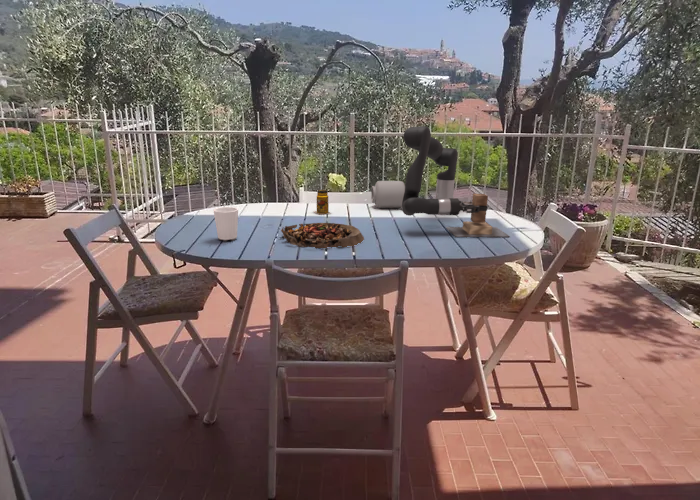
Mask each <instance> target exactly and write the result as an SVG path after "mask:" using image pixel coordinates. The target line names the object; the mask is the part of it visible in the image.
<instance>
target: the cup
mask: <svg viewBox="0 0 700 500" xmlns="http://www.w3.org/2000/svg"><path fill="white" fill-rule="evenodd" d="M213 217H214V220H215V226H216V233H217V239H218V241H223V242H228V241H232V242H234V241H235V240H237V238H238V225H239V224H238V221H239V208H237V207H233V206H221V207H217V208H214V209H213Z"/></svg>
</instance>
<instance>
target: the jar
mask: <svg viewBox="0 0 700 500" xmlns="http://www.w3.org/2000/svg"><path fill="white" fill-rule="evenodd" d="M369 190H370V189H368V190H367V189H366V191H367V192H368V191H369ZM366 191H364V192H365V193H366ZM404 192H405V183H404V181H402V180H377V182H375V185H371V193H370V194H371V203H373V204H375V207H376V208H378V209H396V211H397V209H402V201H403V196H404ZM360 194H363V193H362V192H360ZM365 201H367V199H365Z"/></svg>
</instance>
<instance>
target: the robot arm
mask: <svg viewBox="0 0 700 500" xmlns="http://www.w3.org/2000/svg"><path fill="white" fill-rule="evenodd" d="M431 132H432V131H431V129H430V128H429V127H428V126H424V125H423V126H422V125H421V126H420V125H419V126H410V127H408V128H406V129H405V131H404V132H403V142H404V144H405V146H406V147H407V148H409V149H412V150H415V151H417V152H418V154H417V156H416V158H415V159H414V161H413V163H412V164H411V165H410V167H409V168H408V170H407V171H406V175H405V183H404V184H405V192H404V196H403V201H402V208H401V211H402V212H403V214H404V215H406V216H409V217H410V216H413V215H415V214H425V215H430V216H432V215H433V216H434V215H435V216H437V215H439V216H458V215H459V214H460V212H462V213H467V214H471V213H476V212H477V213H478V212H479V211H486V212H487V211H488V208H489V207H488V205H487V206H479V205H474V204H472V201H466V200H465V201H464V200H462V201H461V200H460V199H459V197H458V198H455V197H454V195H455V194H454V193H455V181H456V174H457V173H456V171H457V164H458V158H459V157H458V156H459V154H458V153H459V152H458V150H457V149H456V148H449V147H448V148H447V147H444V146H443V143H441V141H439V140H438V139H437V138H435V137H433V136H432V134H431ZM427 158H429V159H430V160H432V161H433V162H434V163H435V164H436V165H438V166H441V167H447V169H446V170H445V171H443V172H438V173H437V175H436V188H435V198H424V197H423V198H422V197H419V195H420V193H421V189H422V182H423V175H424V169H425V165H426V161H427ZM475 208H476V210H475Z"/></svg>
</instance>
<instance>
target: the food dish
mask: <svg viewBox="0 0 700 500" xmlns="http://www.w3.org/2000/svg"><path fill="white" fill-rule="evenodd" d="M298 226H299V227H298ZM297 227H298V228H297ZM280 231H281V233H282V235H283V238H284V239H285V241H284V242H286V243H288V244H290V245H292V246H295V247H296V246H297V247H298V248H299V247H301V248H313V247H315V248H314V249H317V248H327V247H336V248H339V247H338V246H342V247H341V248H344V247H347V246H353V247H355V246H354V245H357V244H358V243H360V244H362V243H363V242H364V241H365V237H364V236H363V234H362V231H360V229H359V228H357V227H355V226H354V225H351V224H350V225H348V224H345V223H344V224H343V223H336V222H335V223H334V222H313V223H304V224H303V223H299V224H292V225H289V226H287V225H286V226H282V229H280ZM363 240H364V241H363ZM362 241H363V242H362ZM361 242H362V243H361ZM358 245H359V244H358ZM358 245H357V246H358ZM347 248H348V247H347ZM327 249H328V248H327Z"/></svg>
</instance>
